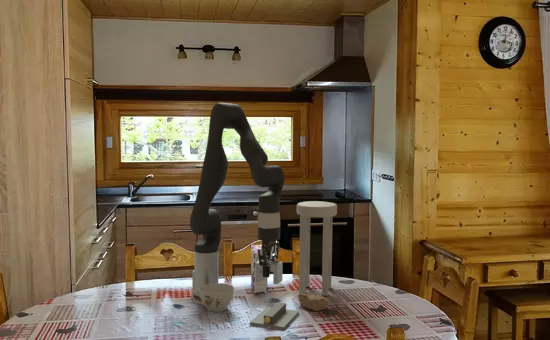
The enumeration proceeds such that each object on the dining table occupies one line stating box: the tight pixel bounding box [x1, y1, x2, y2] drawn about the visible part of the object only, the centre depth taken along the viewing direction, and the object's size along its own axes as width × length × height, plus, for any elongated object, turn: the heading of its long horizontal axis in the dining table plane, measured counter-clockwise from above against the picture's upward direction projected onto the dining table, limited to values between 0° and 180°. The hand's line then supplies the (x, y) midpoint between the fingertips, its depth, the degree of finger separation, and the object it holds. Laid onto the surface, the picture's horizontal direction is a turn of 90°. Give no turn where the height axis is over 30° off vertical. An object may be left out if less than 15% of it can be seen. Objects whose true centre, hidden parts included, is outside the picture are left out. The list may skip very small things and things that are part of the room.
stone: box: [297, 292, 330, 312], centre depth 197 cm, size 9×11×5 cm
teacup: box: [191, 282, 235, 313], centre depth 192 cm, size 15×12×8 cm
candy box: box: [250, 244, 268, 294], centre depth 217 cm, size 14×6×16 cm, turn 6°
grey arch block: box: [255, 260, 283, 285], centre depth 181 cm, size 8×4×6 cm, turn 68°
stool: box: [296, 200, 338, 297], centre depth 214 cm, size 16×16×35 cm
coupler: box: [249, 302, 300, 331], centre depth 183 cm, size 12×16×4 cm
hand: (268, 275), depth 181 cm, fingers closed on grey arch block, 4 cm apart
